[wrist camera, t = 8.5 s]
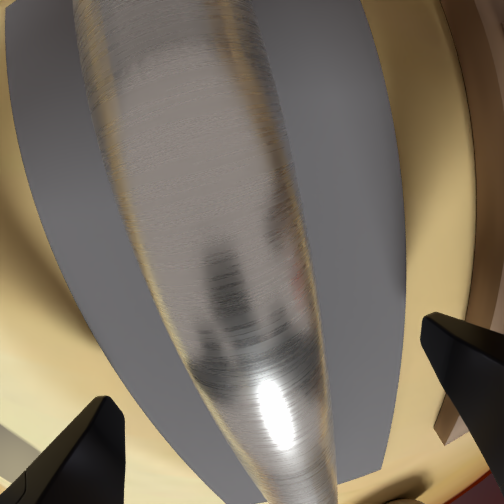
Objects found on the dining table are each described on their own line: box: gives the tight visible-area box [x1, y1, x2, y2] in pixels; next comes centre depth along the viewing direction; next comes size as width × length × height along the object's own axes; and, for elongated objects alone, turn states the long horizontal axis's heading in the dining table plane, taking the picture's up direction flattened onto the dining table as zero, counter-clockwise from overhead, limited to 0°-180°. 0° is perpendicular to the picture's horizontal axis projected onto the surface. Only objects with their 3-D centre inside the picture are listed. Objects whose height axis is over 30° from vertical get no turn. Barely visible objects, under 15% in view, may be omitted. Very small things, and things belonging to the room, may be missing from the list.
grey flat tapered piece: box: [5, 0, 406, 504], centre depth 8 cm, size 24×9×1 cm, turn 14°
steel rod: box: [72, 0, 338, 504], centre depth 7 cm, size 20×3×3 cm, turn 14°
